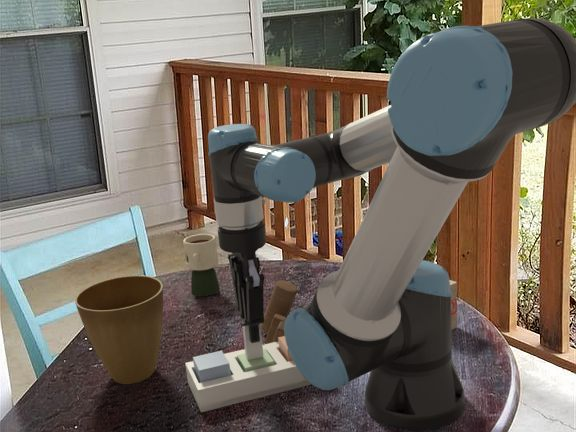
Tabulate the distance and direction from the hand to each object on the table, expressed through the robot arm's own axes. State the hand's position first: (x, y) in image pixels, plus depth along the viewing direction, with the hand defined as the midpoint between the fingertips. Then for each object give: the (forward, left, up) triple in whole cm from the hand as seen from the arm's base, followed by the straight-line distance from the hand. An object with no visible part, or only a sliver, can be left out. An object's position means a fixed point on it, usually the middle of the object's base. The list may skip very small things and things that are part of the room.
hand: (254, 356), depth 124 cm
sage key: (0, 0, -4) cm, 4 cm away
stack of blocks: (+11, -34, -5) cm, 36 cm away
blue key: (0, +7, -2) cm, 8 cm away
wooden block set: (+13, -9, -5) cm, 17 cm away
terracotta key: (0, -8, -2) cm, 8 cm away
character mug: (+43, -1, -5) cm, 43 cm away
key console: (0, 0, -5) cm, 5 cm away
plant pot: (+13, +19, -5) cm, 24 cm away
